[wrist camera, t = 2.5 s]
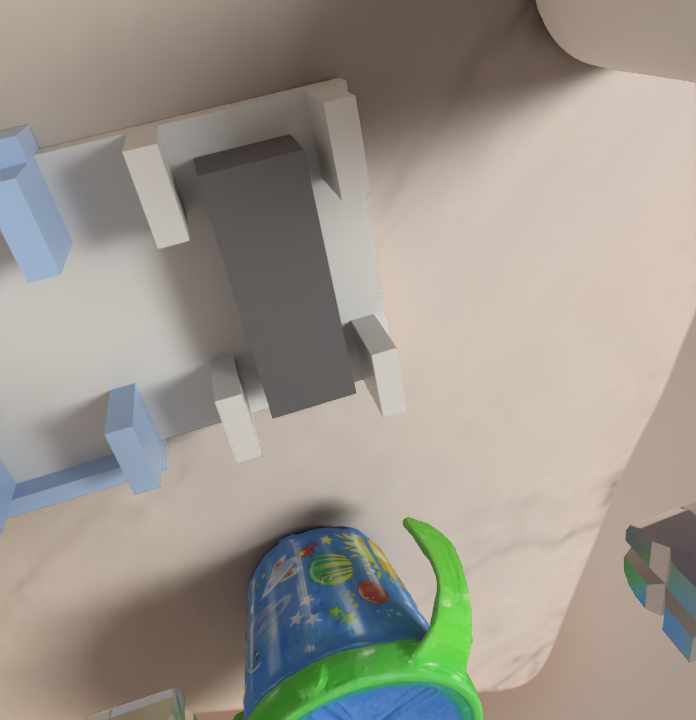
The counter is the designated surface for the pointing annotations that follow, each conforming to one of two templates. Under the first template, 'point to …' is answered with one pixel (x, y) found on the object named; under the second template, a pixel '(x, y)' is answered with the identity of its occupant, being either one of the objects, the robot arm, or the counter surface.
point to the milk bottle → (627, 34)
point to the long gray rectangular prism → (278, 270)
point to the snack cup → (356, 633)
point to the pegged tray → (157, 293)
